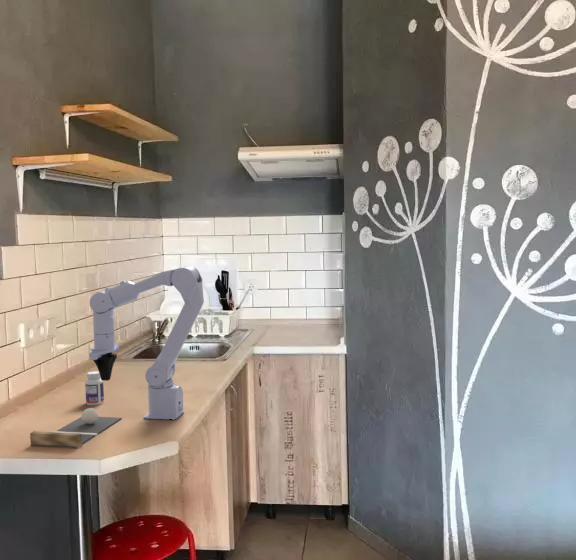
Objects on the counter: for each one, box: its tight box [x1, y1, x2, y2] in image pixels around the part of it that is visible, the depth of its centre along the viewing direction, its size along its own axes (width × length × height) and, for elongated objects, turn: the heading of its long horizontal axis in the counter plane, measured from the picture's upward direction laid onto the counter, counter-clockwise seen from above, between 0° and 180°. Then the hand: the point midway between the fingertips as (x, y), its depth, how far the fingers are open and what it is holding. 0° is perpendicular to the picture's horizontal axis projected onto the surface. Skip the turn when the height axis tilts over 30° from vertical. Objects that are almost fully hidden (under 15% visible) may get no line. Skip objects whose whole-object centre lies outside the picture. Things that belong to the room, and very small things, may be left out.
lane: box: [33, 416, 123, 449], centre depth 172 cm, size 12×25×1 cm, turn 169°
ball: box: [80, 407, 99, 424], centre depth 177 cm, size 4×4×4 cm
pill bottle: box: [84, 370, 105, 406], centre depth 200 cm, size 5×5×10 cm
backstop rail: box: [29, 430, 83, 449], centre depth 160 cm, size 13×2×3 cm, turn 79°
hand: (105, 379), depth 186 cm, fingers closed
